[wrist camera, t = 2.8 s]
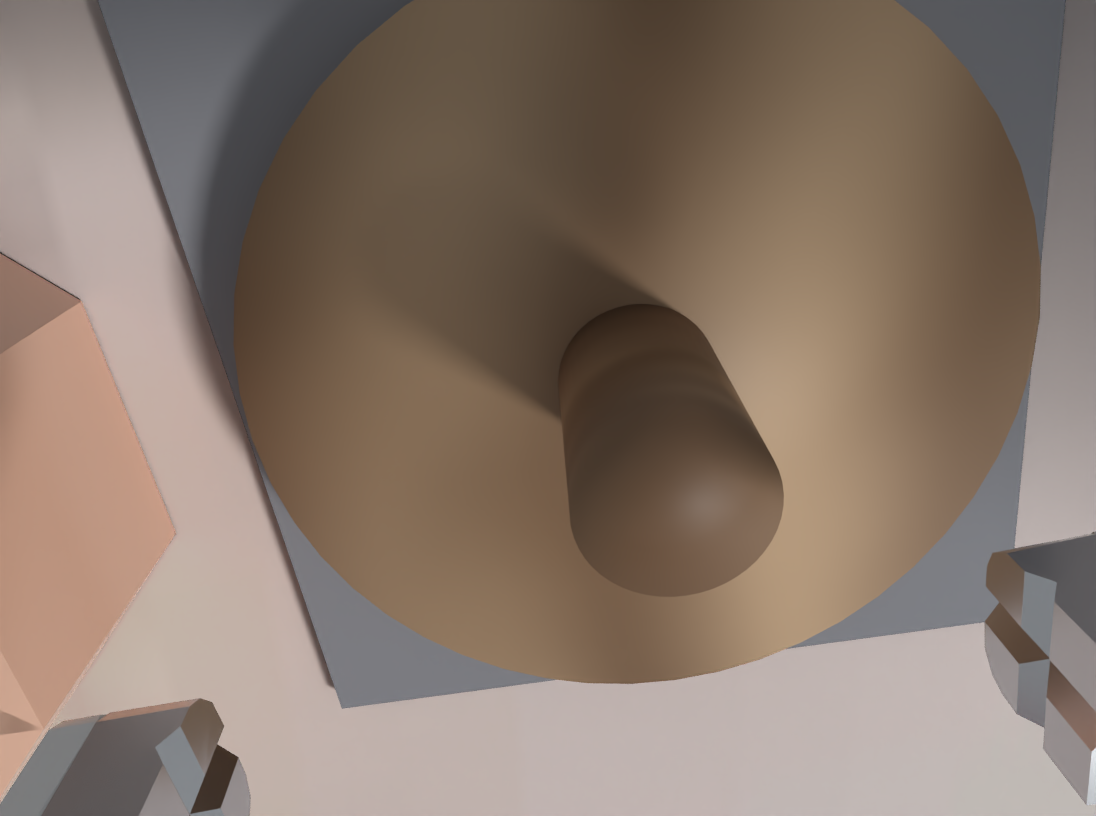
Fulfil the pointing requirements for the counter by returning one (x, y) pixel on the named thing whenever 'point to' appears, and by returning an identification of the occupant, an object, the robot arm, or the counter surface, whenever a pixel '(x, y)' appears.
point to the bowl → (62, 508)
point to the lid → (636, 322)
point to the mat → (247, 153)
